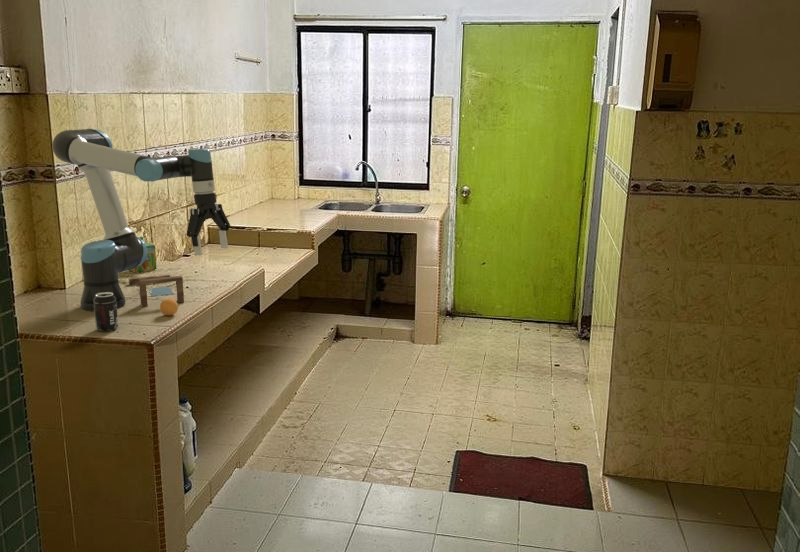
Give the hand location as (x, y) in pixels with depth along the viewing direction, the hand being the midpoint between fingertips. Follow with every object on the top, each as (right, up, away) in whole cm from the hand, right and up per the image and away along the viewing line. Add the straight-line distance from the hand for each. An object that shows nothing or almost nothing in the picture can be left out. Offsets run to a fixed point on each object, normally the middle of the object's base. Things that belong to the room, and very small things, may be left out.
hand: (211, 251), depth 254 cm
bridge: (-20, -19, +8) cm, 29 cm away
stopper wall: (-36, -12, +37) cm, 53 cm away
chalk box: (-47, -6, +59) cm, 76 cm away
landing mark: (-29, -15, +24) cm, 40 cm away
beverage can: (-29, -27, -22) cm, 45 cm away
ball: (-13, -20, -7) cm, 25 cm away
